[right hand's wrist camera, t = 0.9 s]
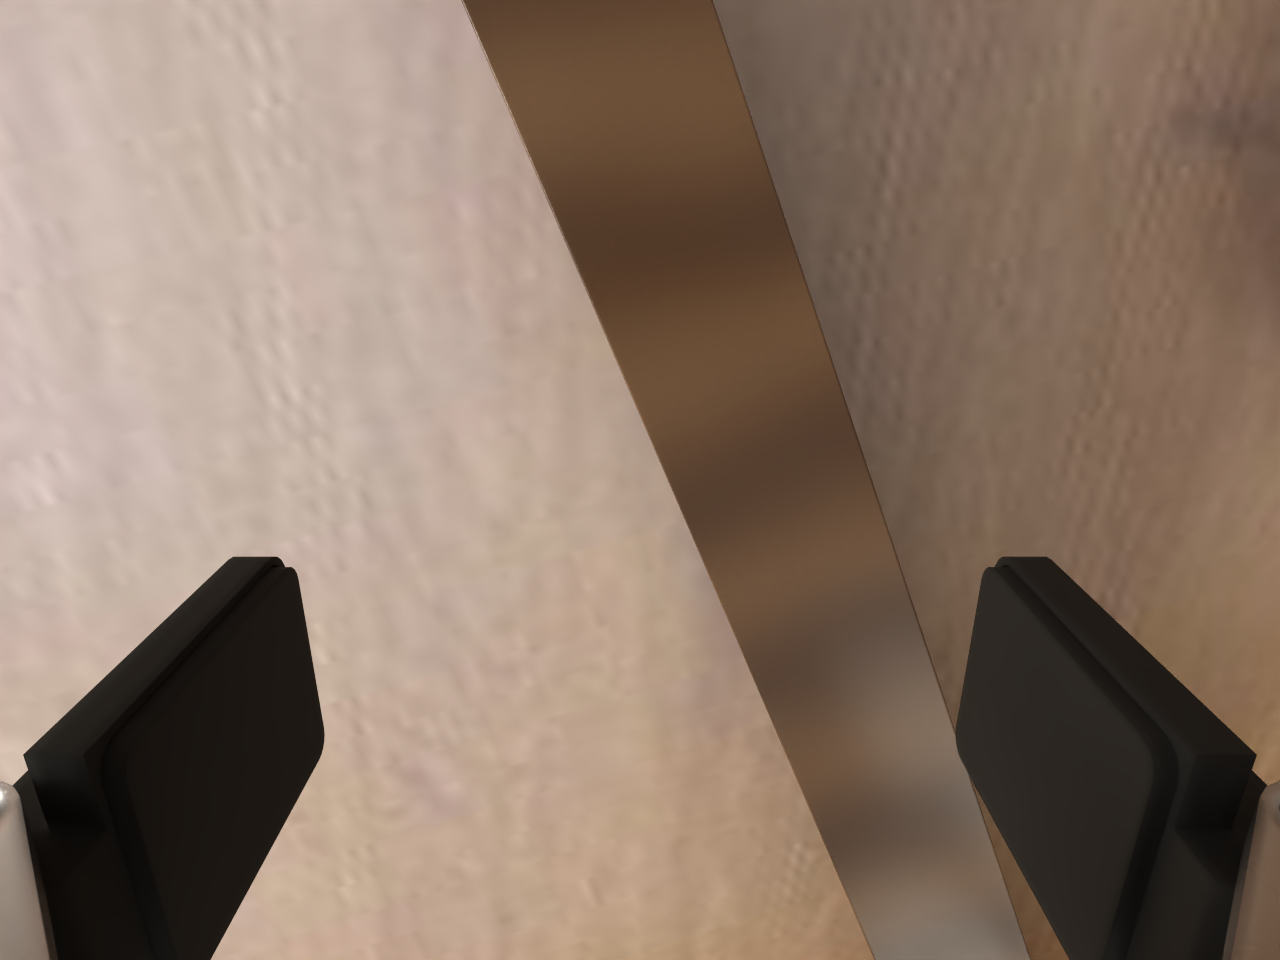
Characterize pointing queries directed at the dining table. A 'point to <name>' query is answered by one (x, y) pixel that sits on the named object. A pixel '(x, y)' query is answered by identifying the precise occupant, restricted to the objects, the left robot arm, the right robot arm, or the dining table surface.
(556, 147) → the post
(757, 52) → the dining table surface
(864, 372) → the dining table surface
